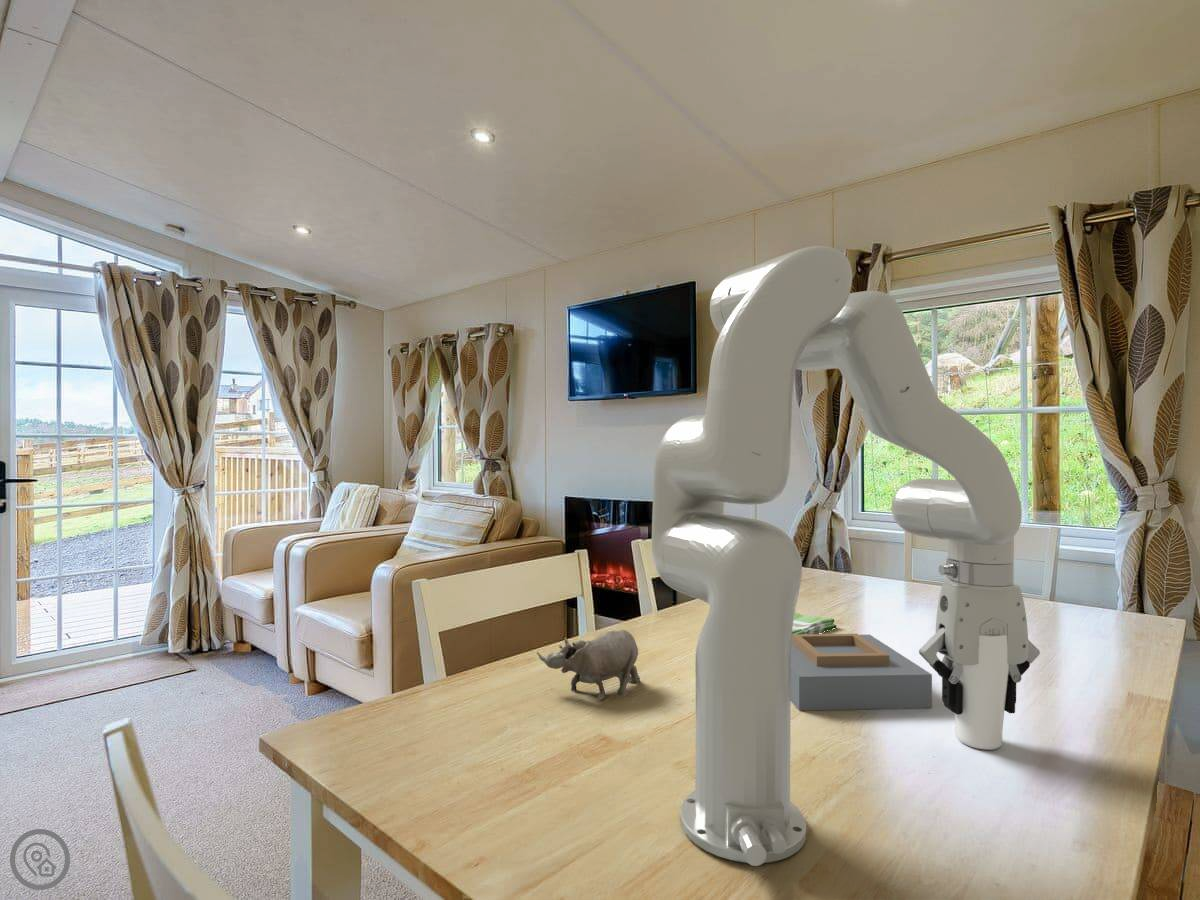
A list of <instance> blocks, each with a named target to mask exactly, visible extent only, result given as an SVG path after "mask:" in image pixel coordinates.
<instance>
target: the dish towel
mask: <svg viewBox="0 0 1200 900" xmlns="http://www.w3.org/2000/svg"><path fill="white" fill-rule="evenodd" d="M834 623H835V619H834V618H831V617H818V616H811V615H802V614H800V613H798V612H796V611H795V614H794V620H793V628H792V634H819V633H823V632H824V631H825V632H826V631H827V630H828V631H829V630H832V629H833V628H836V629H837V624H834ZM832 631H833V630H832ZM829 632H830V631H829ZM826 633H827V632H826ZM823 634H824V633H823Z"/></svg>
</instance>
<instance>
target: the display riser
mask: <svg viewBox="0 0 1200 900" xmlns="http://www.w3.org/2000/svg"><path fill="white" fill-rule="evenodd" d="M932 692H933V674H932V673H931V672H929V671H928V670H926V669H924V668H923V667H921V666H919V665H918V664H916V663H915V662H913V661H911V660H910V659H908V658H907V657H906V656H905V655H902V654H901V653H899V652H898V651H896V650H894V649H893V648H892V647H889V646H888V645H886V644H885V643H884V642H882V641H880V639H878V638H876V637H874V636H873V635H871V634H858V633H823V634H792V641H791V700H790V703H792V704H793V705H794V706H795V708H796V709H797V710H798V712H799V711H801V712H802V711H838V710H839V711H841V710H845V711H846V710H847V711H849V710H852V711H853V710H854V709H855V710H895V709H896V710H899V709H903V710H905V709H932V708H933V706H932V705H933V701H932V700H933V699H932V698H933V693H932Z"/></svg>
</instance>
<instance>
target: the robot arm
mask: <svg viewBox="0 0 1200 900" xmlns="http://www.w3.org/2000/svg"><path fill="white" fill-rule="evenodd" d="M852 286H853V272H852V265H851V263H850V261H849V259H848V258H847V256H846V255H845V254H844V253H843V252H842V251H840V250H838V249H837V248H834V247H832V246H828V245H812V246H807V247H803V248H799V249H796V250H793V251H792V252H788V253H785V254H783V255H779V256H776V257H774V258H771V259H769V260H765V262H762V263H759V264H757V265H754V266H751V267H747V268H745V269H742V270H739V271H737V272H734V273H733V274H730V275H728V276H726V277H725V278H724V279H723V280H722V281H720V282H719V283H718V285H717V286H716V287H715V288H714V291H713V292H712V293H711V294H712V295H711V298H710V300H709V301H710V302H709V313H710V315H709V316H710V318H711V319H710V320H711V322H712V324H713V326H714V329H715V330H716V332H717V333H718V334H719V335H718V338H717V339H716V342H715V345H714V348H713V352H712V355H711V360H710V367H709V376H708V386H707V387H708V389H707V398H706V409H705V413H704V414H696V415H690V416H685V417H684V418H682V419H679V420H678V421H676V422H675V423H673V424H672V425H671V426H670V427H669V428H668V430H667V431H666V432H665V433H664V435H663V437H662V438H661V439H660V440H661V441H660V442H659V445H658V448H657V451H656V454H655V455H656V456H655V460H654V470H653V487H652V488H653V490H652V515H651V518H652V519H651V520H652V521H651V552H652V561H653V563H654V567H655V570H656V572H657V575H658V576H659V578H660V579H661V580H662V582H664V584H665V585H666V586H668V587H670V588H671V589H673V590H675V592H676V591H677V592H678V593H680V594H683V595H686V596H688V597H692V598H694V599H698V600H699V601H702V602H705V603H707V604H709V609H708V614H707V616H706V619H705V620H704V623H703V625H702V628H701V630H700V633H699V635H698V638H697V642H696V643H697V644H696V647H695V648H696V649H695V778H694V779H695V783H694V784H695V785H694V786H695V790H693V791H692V792H691V793H690V794H688V795H687V796H686V797H685V799H683V801H682V804H681V806H680V814H679V815H680V817H679V819H680V824H681V825H680V826H681V828H682V830H683V831H684V834H685V835H686V836H687V837H688V839H689V840H690V841H691V842H693V843H694V844H695V845H696V846H697V847H699V848H701V849H702V850H705V851H706V852H708V853H710V854H712V855H714V856H717V857H719V858H722V859H726V860H729V861H733V862H739V863H746V864H749V865H750V866H752V867H753V866H754V867H758V866H760V865H763V864H766V863H773V862H778V861H781V860H784V859H787V858H789V857H791V856H793V855H794V854H796V853H797V852H799V851H800V849H801V848H802V847H803V846H804V844H805V842H806V839H807V822H806V818H805V816H804V813H802V811H801V810H800V809H799V807H797V805H795V804H794V803H793V802H792V801H791V701H790V700H791V641H792V628H793V620H794V614H795V612H796V608H797V602H798V599H799V594H800V589H801V584H802V578H803V566H802V565H803V563H802V557H801V554H800V551H799V549H798V547H797V545H796V543H795V542H794V541H793V539H792V538H791V537H790V536H789V535H788V534H787V533H786V532H785V531H783V530H782V529H781V528H779V527H777V526H776V525H773V524H771V523H768V522H766V521H762V520H759V519H754V518H749V517H743V516H736V515H729V514H724V509H725V508H724V507H725V503H728V504H729V503H730V504H737V505H753V506H754V505H762V504H766V503H770V502H773V500H775V499H777V498H778V497H780V495H781V494H782V493H783V491H784V490H785V489H786V487H787V483H788V480H789V479H788V478H789V474H790V467H791V466H790V465H791V454H792V453H791V451H792V421H793V419H792V418H793V417H792V416H793V394H794V382H795V374H796V370H797V371H798V370H800V371H802V372H803V371H806V372H815V371H816V372H817V371H823V370H831V369H832V370H833V369H837V370H839V371H840V374H841V375H842V378H843V379H844V382H845V384H846V386H847V388H848V390H849V392H850V394H851V395H850V396H851V398H852V399H853V401H854V403H855V405H856V408H857V410H858V412H859V415H860V417H861V419H862V422H863V424H864V425H865V427H866V429H867V430H868V431H869V432H870V433H871V434H873V435H875V436H877V437H878V438H880V439H883V440H884V441H885V442H889V443H890V444H894V445H895V446H897V447H900V448H903V449H905V450H907V451H910V452H912V453H915V454H918V455H920V456H921V457H924V458H925V459H928V460H929V461H931V462H933V463H934V464H936V465H938V466H940V467H941V468H942V469H944V470H945V471H946V472H947V473H949V474H950V475H951V476H952V477H953V478H954V479H940V478H918V479H913V480H911V481H907V482H906V483H904V484H903V485H901V486H900V487H899V488H898V489H897V490H896V492H895V493H894V495H893V498H892V501H891V513H892V518H893V519H894V522H895V523H896V525H898V526H899V527H900V528H901V529H902V530H904V531H905V532H907V533H908V534H909V533H910V534H911V535H914V536H919V537H923V538H929V539H936V540H944V541H947V558H946V563H945V564H940V565H939V566H938V573H939V574H940V575H941V576H946V579H947V580H944V581H943V582H942V586H941V589H940V593H939V597H938V603H937V611H936V618H935V619H936V621H935V633H934V634H933V636H931V637H930V638H929V639H928V640H927V641H926V642H925V643H924V644H923V645H922V646H921V647H920V648H919V649H918V653H919V655H920V656H921V657H922V659H924V661H926V663H928V664H929V666H930V667H931V668H932V669H933V670H934V671H935V672H936V673H937V675H938V676H940V677H941V700H942V702H943V706H944V707H945V708H947V709H948V710H950V711H951V712H953V714H954V715H955V714H962V713H963V686H962V684H960V683H959V682H958V680H959V678H960V676H961V673H962V671H963V665H976V664H979V643H980V642H979V635H980V636H982V635H987V636H999V635H1007V663H1008V664H1009V673H1008V683H1007V691H1006V701H1005V710H1004V712H1007V713H1009V714H1015V713H1016V703H1017V683H1020V682H1021V681H1022V676H1023V675H1024V674H1025V673H1026V672H1027V670H1028V669H1029V668H1030V666H1031V665H1030V664H1033V662H1034V661H1035V660H1036V659H1037V658H1038V657H1039V656H1040V653H1041V651H1040V650H1039V648H1037V647H1036V645H1034V643H1033V642H1031V641H1030V640H1029V631H1028V620H1027V611H1026V606H1025V602H1024V601H1025V600H1024V597H1023V593H1022V590H1021V587H1020V585H1018V584H1014V582H1015V581H1014V580H1015V536H1016V535H1017V533H1018V531H1019V529H1020V527H1021V524H1022V515H1023V513H1022V510H1023V509H1022V504H1021V498H1020V495H1019V491H1018V489H1017V486H1016V482H1015V480H1014V478H1013V475H1012V473H1011V471H1010V467H1009V464H1008V463H1007V461H1006V459H1005V456H1004V454H1003V453H1002V452H1001V450H1000V449H999V448H998V446H997V445H996V444H995V443H994V442H993V441H992V439H990V438H989V437H988V436H987V435H986V434H985V433H984V432H982V431H981V430H980V429H979V428H978V427H976V425H974V424H973V423H972V422H971V421H969V420H968V419H967V418H966V417H964V416H963V415H961V414H960V413H959V412H957V411H956V410H954V409H952V408H951V407H949V406H948V405H947V404H945V403H944V402H943V401H942V399H941V400H940V397H939V396H938V394H937V393H936V390H935V388H934V384H933V382H932V380H931V377H930V376H929V373H928V371H927V368H926V365H925V363H924V361H923V358H922V356H921V353H920V351H919V349H918V346H917V343H916V341H915V338H914V337H913V334H912V331H911V329H910V326H909V324H908V322H907V319H906V317H905V315H904V312H903V311H902V308H901V306H900V305H899V303H898V301H897V300H896V299H895V298H894V297H893V296H892V295H890V294H888V293H886V292H883V291H878V290H864V291H863V290H862V291H857V292H856V291H855V292H851V290H852ZM937 653H939V654H940V655H943V658H942V659H939V657H938V656H937V655H938V654H937ZM951 661H953V662H954V663H953V665H952V663H951Z"/></svg>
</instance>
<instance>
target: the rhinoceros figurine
mask: <svg viewBox="0 0 1200 900" xmlns="http://www.w3.org/2000/svg"><path fill="white" fill-rule="evenodd" d="M571 644H572V645H571ZM571 644H570V643H569V641H568V638H567V637H565V638H564V645H565V646H562V645H561V644H559V645H558V647H559V649H560V650H559V651H558V652H553V651H552V652H549V653H548V655H547V656H544V655H542V654H541V653H539V651H536V654H537V656H538V658H539V659H540V661H541V662H543V663H544V664H545V665H546V666H547V667H548V668H550V669H553V670H558V669H560V671H561V672H562V674H566V673H568V672H573V673H575V675H574V676H572V678H571V680H570V681H571V682H570V684H571V685H570V686H571V688H570V690H571V691H570V692H571V693H576V690H577V684H578V683H580V682H581V683H583V684H591V685H592V684H596V685H597V686H598V690H599V694H598V695H597V699H596V700H597V701H598V702H601V701H602V700H604V699H605V696H606V691H605V686H604V683H603V681H607V680H610V679H612V678H618V680H619V686H618V689H617V694H618V695H621V696H627V695H628V688H627V686H628V684H629V683H631V684H632V685H637V684H640V682H641V680H640V679H641V677H640V675H639V673H638V669H637V666H636V665H635V664H636V661H637V660H638V656H639V648H638V645H637V642H636V640H635V637H634V636H633V635H632V633H630V632H629V631H627V630H625V629H619V630H609V631H606V632H605V631H604V633H601V634H600V635H599V636H597V637H595V638H594V639H592V640H586V641H584V640H582V639H581V640H579V639H578V640H577V641H573V642H572V643H571Z"/></svg>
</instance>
